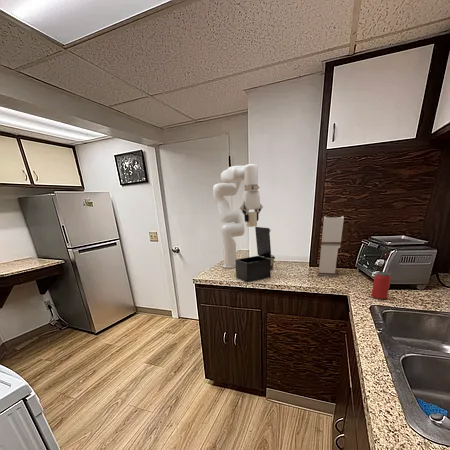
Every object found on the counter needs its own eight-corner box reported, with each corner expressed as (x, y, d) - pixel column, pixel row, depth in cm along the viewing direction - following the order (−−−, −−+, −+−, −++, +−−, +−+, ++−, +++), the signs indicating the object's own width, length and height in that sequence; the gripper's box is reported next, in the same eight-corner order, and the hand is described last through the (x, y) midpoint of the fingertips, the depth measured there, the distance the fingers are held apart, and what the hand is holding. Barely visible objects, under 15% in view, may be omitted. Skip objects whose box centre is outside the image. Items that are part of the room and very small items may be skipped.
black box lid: (268, 228, 147) (274, 226, 149) (255, 226, 158) (261, 225, 160) (270, 258, 155) (276, 256, 156) (257, 255, 166) (263, 253, 168)
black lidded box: (247, 282, 152) (246, 263, 148) (236, 277, 163) (235, 259, 159) (270, 277, 159) (270, 259, 155) (258, 272, 171) (258, 255, 166)
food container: (274, 267, 180) (274, 254, 177) (274, 270, 175) (275, 256, 171) (257, 268, 182) (257, 254, 178) (257, 270, 176) (257, 256, 172)
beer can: (386, 300, 116) (391, 276, 111) (370, 298, 119) (374, 274, 114) (386, 296, 121) (391, 272, 116) (371, 294, 124) (375, 270, 120)
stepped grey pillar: (336, 276, 153) (343, 217, 140) (318, 275, 157) (323, 218, 144) (336, 271, 163) (343, 216, 150) (319, 270, 167) (324, 216, 154)
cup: (244, 226, 151) (244, 212, 148) (253, 225, 153) (252, 211, 150) (250, 226, 145) (250, 212, 143) (258, 225, 148) (258, 211, 145)
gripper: (259, 188, 148) (259, 219, 155) (234, 189, 141) (236, 222, 148) (267, 187, 142) (267, 220, 149) (241, 188, 135) (242, 222, 142)
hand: (251, 220), depth 148 cm, fingers closed on cup, 6 cm apart
